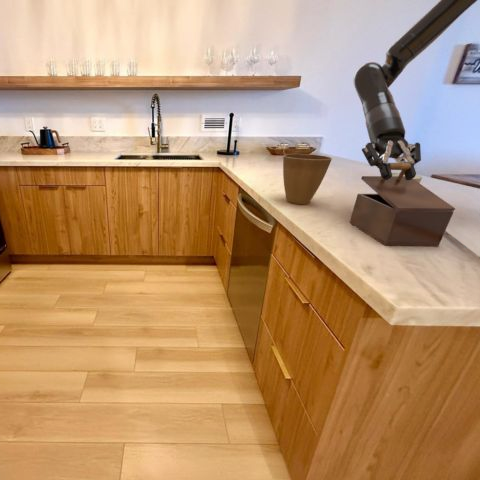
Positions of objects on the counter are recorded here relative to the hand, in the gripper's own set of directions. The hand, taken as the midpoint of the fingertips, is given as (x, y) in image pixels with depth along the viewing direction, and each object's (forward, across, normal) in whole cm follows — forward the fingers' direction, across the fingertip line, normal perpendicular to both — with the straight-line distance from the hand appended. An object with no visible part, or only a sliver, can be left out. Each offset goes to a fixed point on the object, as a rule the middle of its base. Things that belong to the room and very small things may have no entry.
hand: (399, 178), depth 74 cm
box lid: (+4, 0, 0) cm, 4 cm away
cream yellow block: (-1, +13, +22) cm, 26 cm away
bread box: (+12, 0, +8) cm, 15 cm away
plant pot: (-8, -13, +29) cm, 32 cm away
